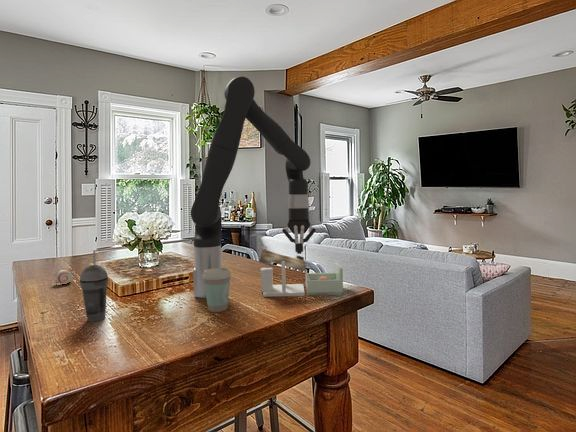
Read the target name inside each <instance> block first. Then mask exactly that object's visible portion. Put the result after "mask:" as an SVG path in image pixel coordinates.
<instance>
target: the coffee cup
mask: <svg viewBox="0 0 576 432" xmlns="http://www.w3.org/2000/svg"><path fill="white" fill-rule="evenodd" d="M231 277H232V274H231V271H230V269H229V268H227V267H222V268H210V269H206V270H204V274H203V277H202V278H203V279H204V285H205V292H206V298H205V299H206V304H207V310H208V311H209V312H212V313H220V312H224V311H226V310H228V307H229V306H228V305H229V296H230V282H231V281H230V280H231Z"/></svg>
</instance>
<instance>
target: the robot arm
mask: <svg viewBox="0 0 576 432" xmlns="http://www.w3.org/2000/svg"><path fill="white" fill-rule="evenodd" d="M255 91H256V90H255V86H254V83H253V82H252V81H251V79H250V78H249V77H246V76H237V77H234V78H233V79H231V80H230V81H229V82H228V83H227V84H226V86H225V88H224V94H223V95H224V99H225V104H224V105H225V106H224V109H223V113H222V117H221V119H220V121H219V123H218V126H216V129H215V132H214V134H213V137H212V139H211V142H210V146H209V149H208V153H207V157H206V161H205V164H204V168H203V174H202V177H201V178H202V179H201V182H200V185H199V189H198V192H197V193H196V196H195V199H194V201H193V203H192V206H191V208H190V217H191V220H192V222H193V223H194V227H195V229H194V230H195V232H194V237H193V253H194V254H193V257H194V268H193V270H192V271H193V272H192V273H193V275H192V278H193V296H194V298H200V299H207V298H206V292H205V285H204V279H203V278H202V277H203V274H204V270H206V269H210V268H223V260H222V235H223V233H222V232H223V231H222V230H223V228H222V224H223V223H222V221H223V220H222V209H221V206H220V201H221V196H222V192H223V188H224V187H225V184H227V183H226V182H227V181H228V178H229V176H230V174H231V172H232V170H233V169H234V168H233V167H234V165H235V161H236V158H237V156H238V155H237V154H238V151H239V146H240V143H241V137H242V134H243V128H244V124H245V121H246V120H247V121H248V122H249V123H250V124H251V125H252V126H253V127H254V128H255V129H256V130H257V132H258V133H260V135H261V136H262V137H263V138H264V139H265V142H267V143H268V144H269V145H270V147H272V149H273V150H274V151H275V152H276V153H277V154H279V155H281V156H284V157H285V158H286V160H285V165H284V167H285V172H286V177H287V181H288V201H287V202H288V204H287V208H288V221H287V224H286V225H287V226H285V227H284V228H282V233H283V234H284V235H285V236H286V238H287V239H288V240H289V241H290V242H291V243H294V244H295V247H294V248H295V249H294V250H295V253H297V255H299V254H301V255H302V253H303V252H304V244H305V243H307V242H309V240H310V239H311V238H312V236H313V235H314V234H315V232H316V230H317V229H316V228H315V227H313V226H312V225H311V223H310V211H309V210H310V203H309V202H310V200H309V185H308V180H307V179H306V178H304V172H305V171H307V170H308V169H309V168H310V166H311V158H310V156H309V154H308V153H307V151H306V150H305V149H304V148H303V147H301V146H300V145H299V144H298V143H296V142H295V141H293V139H292V138H291V137H290V136H289V135H288V134H287V132H286V131H285V130H284V128H283V127H282V126H280V124H279V123H278V122H277V121H275V120H274V119H273V118H271V116H269V115H268V114H267V113H265V111H263V109H262V108H261V107H260V106H259V105H258V103H257V102H256V101H255V93H256V92H255ZM307 231H308V234H307V235H306V236H305V234H306V233H307ZM289 232H291V233H292V234H293V235H294V238H293V237H292V235H291V234H290V233H289ZM304 236H305V237H304Z"/></svg>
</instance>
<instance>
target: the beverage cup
mask: <svg viewBox="0 0 576 432" xmlns="http://www.w3.org/2000/svg"><path fill="white" fill-rule="evenodd" d="M92 255H93V265H91V264H90V265H88V266H86V267H85V268H84V269H83V270H82V271H81V274H80V278H79V283H80V288H81V289H82V296H83V302H84V310H85V315H86V318H87V322H90V323H91V322H92V323H95V322H100V321H104V320H105V319H106V314H107V290H108V289H107V288H108V287H107V286H108V281H109V280H108V279H109V276H108V272H107V270H106V269H105V268H104V267H103V266H101V265H99V264H96V249H94V250H93V254H92Z"/></svg>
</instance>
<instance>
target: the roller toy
mask: <svg viewBox="0 0 576 432" xmlns="http://www.w3.org/2000/svg"><path fill="white" fill-rule="evenodd" d="M53 277H54V278H53V279H54V284H55V283H66V282H71V281H72V282H73V275H72V273H71V272H70V271H68V270H67V269H66V270H65V269H60V270H58V271H57V272H55V274H54V276H53ZM72 282H71V283H72Z"/></svg>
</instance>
